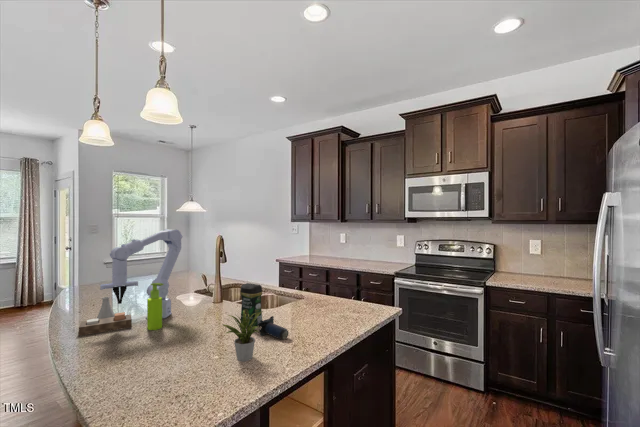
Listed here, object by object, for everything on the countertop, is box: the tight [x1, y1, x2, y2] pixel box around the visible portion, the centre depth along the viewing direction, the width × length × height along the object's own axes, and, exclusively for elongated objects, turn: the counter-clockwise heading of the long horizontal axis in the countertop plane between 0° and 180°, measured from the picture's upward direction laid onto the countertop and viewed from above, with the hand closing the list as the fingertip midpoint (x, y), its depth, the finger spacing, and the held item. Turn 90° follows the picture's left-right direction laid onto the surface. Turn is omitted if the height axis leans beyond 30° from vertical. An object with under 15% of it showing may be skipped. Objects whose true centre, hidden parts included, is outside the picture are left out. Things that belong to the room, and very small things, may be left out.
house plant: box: [221, 310, 264, 362], centre depth 112 cm, size 14×14×16 cm
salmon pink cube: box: [114, 311, 126, 321], centre depth 144 cm, size 4×4×4 cm
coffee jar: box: [240, 282, 263, 327], centre depth 146 cm, size 10×8×19 cm
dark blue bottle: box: [257, 316, 289, 341], centre depth 131 cm, size 9×8×12 cm
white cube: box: [86, 317, 99, 325], centre depth 139 cm, size 4×4×4 cm
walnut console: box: [78, 313, 133, 337], centre depth 142 cm, size 19×9×4 cm, turn 123°
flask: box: [96, 296, 115, 319], centre depth 157 cm, size 7×7×10 cm
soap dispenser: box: [146, 282, 164, 331], centre depth 142 cm, size 6×7×20 cm
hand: (119, 303), depth 145 cm, fingers closed
